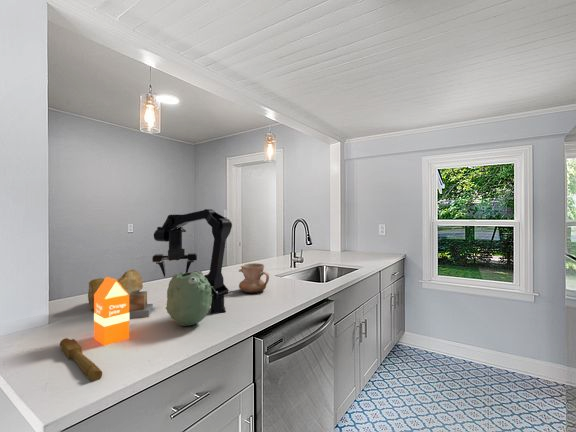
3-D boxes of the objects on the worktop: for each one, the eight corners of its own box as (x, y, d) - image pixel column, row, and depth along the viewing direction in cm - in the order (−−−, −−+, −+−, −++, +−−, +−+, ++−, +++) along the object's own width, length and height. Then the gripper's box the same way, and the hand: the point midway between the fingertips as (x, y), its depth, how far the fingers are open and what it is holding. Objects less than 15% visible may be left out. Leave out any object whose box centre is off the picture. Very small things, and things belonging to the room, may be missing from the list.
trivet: (148, 316, 123) (148, 310, 123) (121, 319, 120) (121, 312, 120) (152, 309, 132) (152, 303, 132) (127, 311, 130) (127, 305, 130)
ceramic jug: (231, 292, 161) (231, 265, 161) (246, 286, 174) (246, 261, 174) (261, 297, 154) (261, 269, 153) (274, 290, 167) (274, 264, 167)
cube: (147, 305, 130) (147, 291, 130) (144, 309, 124) (144, 294, 124) (131, 306, 128) (131, 292, 128) (127, 310, 122) (127, 295, 122)
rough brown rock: (127, 297, 154) (125, 268, 154) (147, 299, 145) (145, 268, 146) (76, 311, 134) (73, 277, 134) (96, 314, 126) (93, 278, 126)
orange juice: (118, 331, 107) (118, 274, 107) (129, 338, 101) (129, 278, 101) (93, 338, 101) (93, 278, 101) (103, 346, 95) (103, 282, 95)
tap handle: (89, 372, 74) (58, 338, 94) (89, 384, 74) (58, 348, 94) (103, 367, 77) (70, 335, 97) (103, 379, 77) (70, 345, 97)
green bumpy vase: (183, 314, 125) (183, 266, 125) (222, 321, 118) (222, 269, 118) (153, 328, 111) (153, 272, 110) (195, 336, 103) (195, 277, 103)
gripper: (150, 244, 129) (150, 281, 129) (196, 243, 134) (196, 278, 134) (154, 241, 140) (154, 276, 140) (196, 241, 145) (197, 273, 145)
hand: (175, 276), depth 139 cm, fingers open, 9 cm apart
